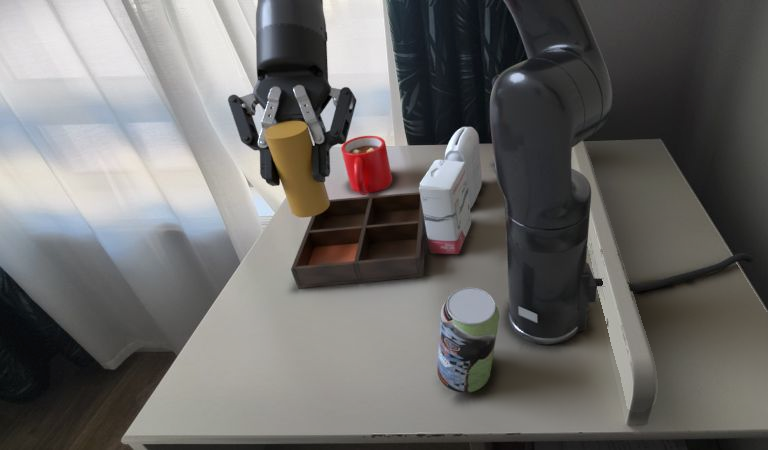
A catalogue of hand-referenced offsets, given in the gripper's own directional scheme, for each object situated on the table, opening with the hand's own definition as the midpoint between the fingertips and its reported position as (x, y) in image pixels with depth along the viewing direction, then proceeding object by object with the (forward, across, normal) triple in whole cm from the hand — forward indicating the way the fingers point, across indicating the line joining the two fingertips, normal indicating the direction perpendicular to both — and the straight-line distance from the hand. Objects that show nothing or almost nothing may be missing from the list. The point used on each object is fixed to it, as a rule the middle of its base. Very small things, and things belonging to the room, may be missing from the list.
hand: (296, 181), depth 54 cm
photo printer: (-4, +18, +33) cm, 38 cm away
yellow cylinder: (+2, 0, +5) cm, 5 cm away
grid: (+4, +2, +24) cm, 25 cm away
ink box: (+4, +15, +24) cm, 29 cm away
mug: (-8, 0, +37) cm, 38 cm away
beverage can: (+23, +17, +5) cm, 30 cm away
